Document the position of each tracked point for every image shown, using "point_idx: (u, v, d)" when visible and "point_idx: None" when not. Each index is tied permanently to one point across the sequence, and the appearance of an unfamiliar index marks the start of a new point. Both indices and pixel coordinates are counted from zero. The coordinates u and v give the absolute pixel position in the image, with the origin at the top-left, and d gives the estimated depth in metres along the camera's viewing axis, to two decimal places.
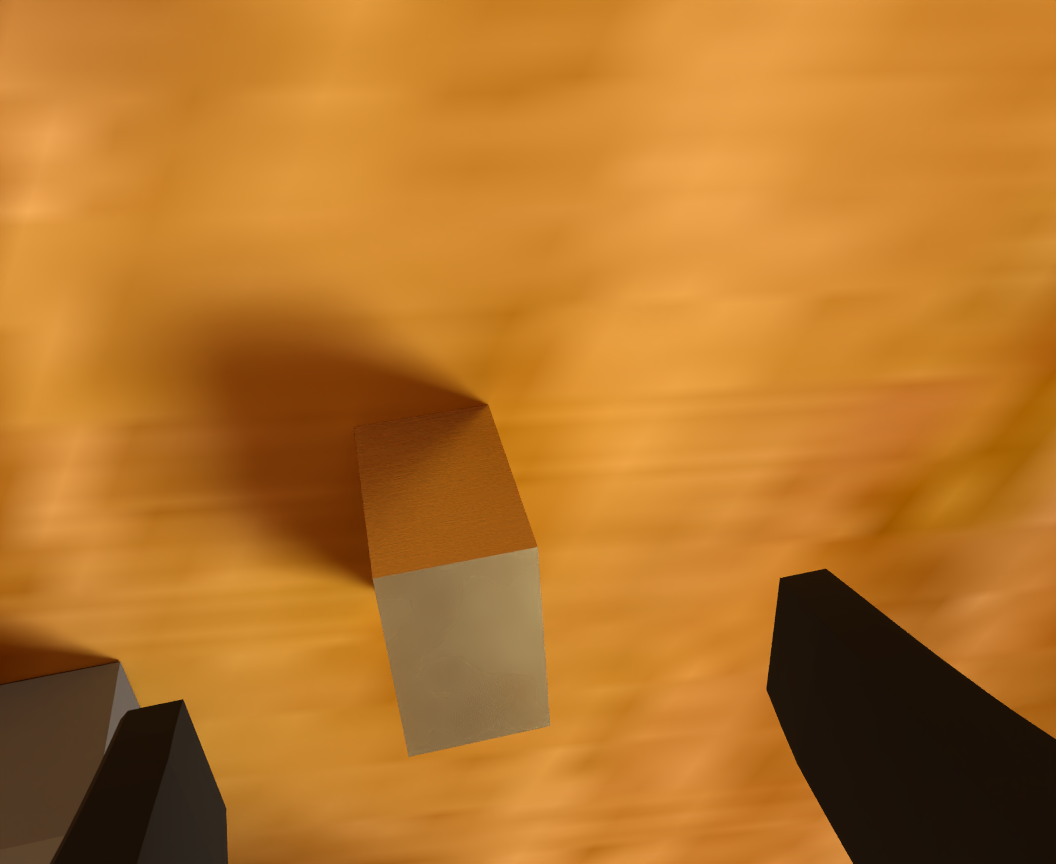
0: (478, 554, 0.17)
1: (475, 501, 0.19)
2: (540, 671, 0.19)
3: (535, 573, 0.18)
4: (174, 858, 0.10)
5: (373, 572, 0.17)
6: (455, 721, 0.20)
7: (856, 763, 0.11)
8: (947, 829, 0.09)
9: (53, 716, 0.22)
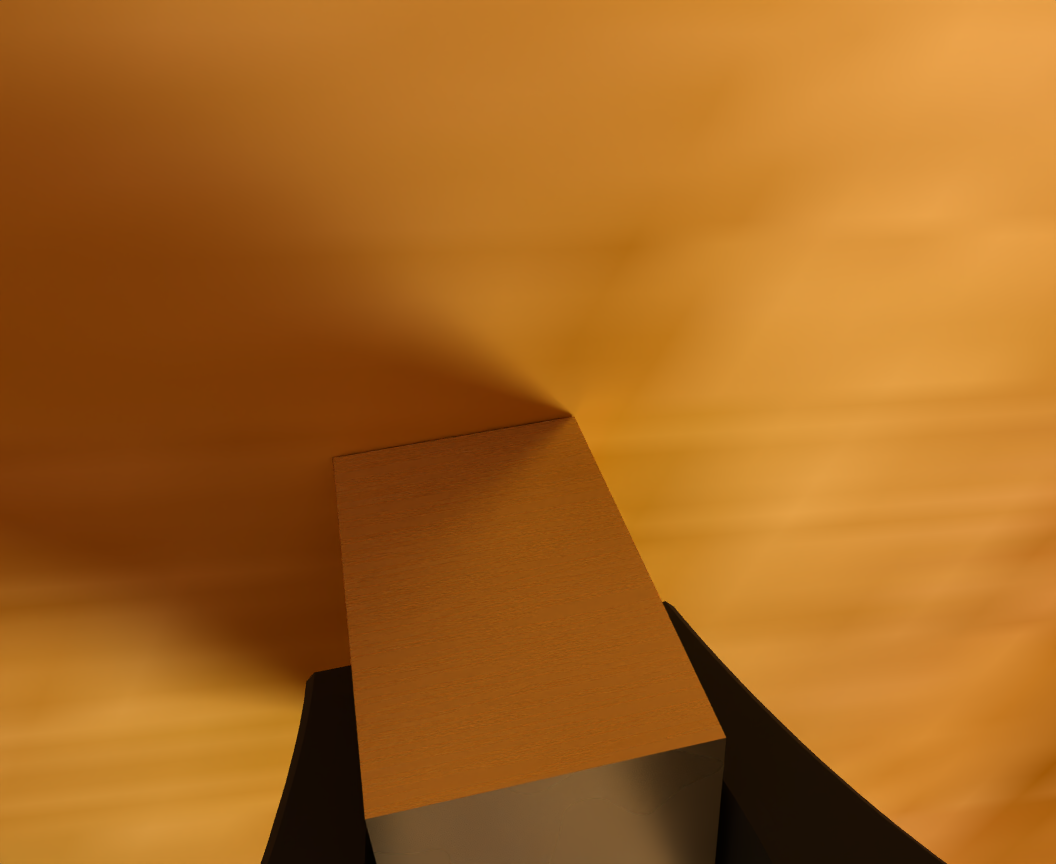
0: (598, 755, 0.08)
1: (576, 620, 0.09)
2: None
3: (713, 785, 0.08)
4: None
5: (368, 803, 0.08)
6: None
7: None
8: None
9: None
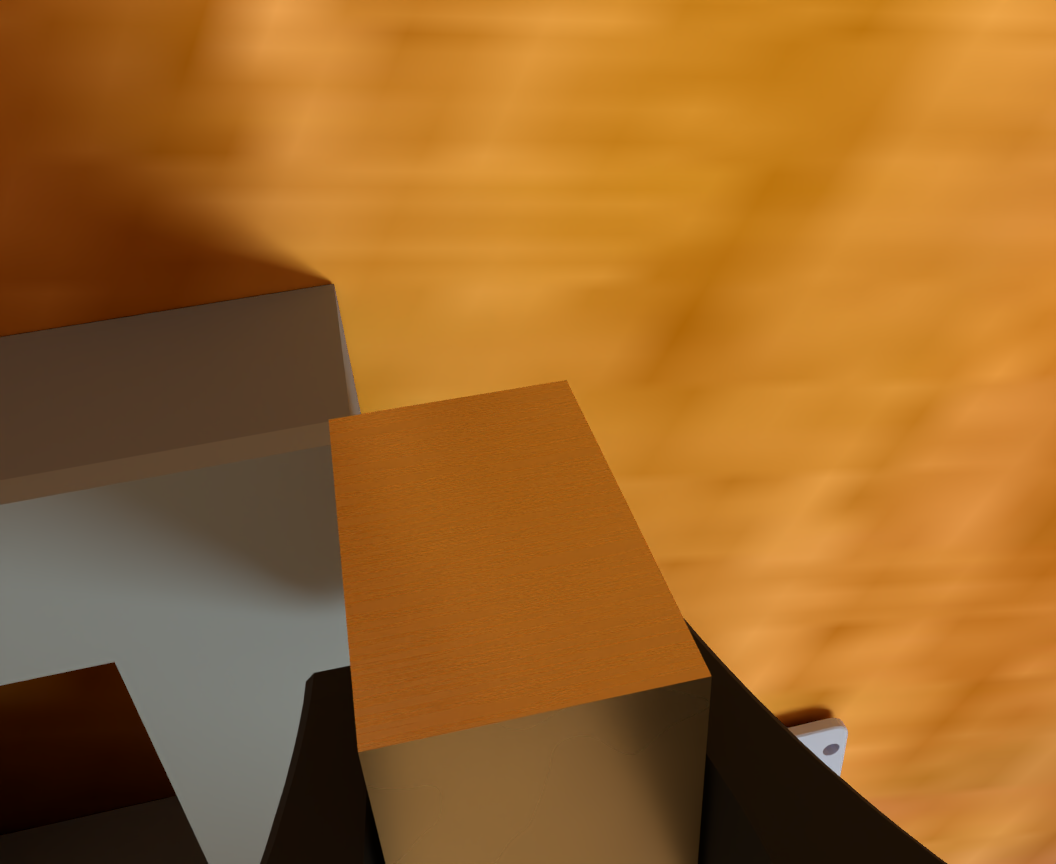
0: (586, 692, 0.08)
1: (565, 568, 0.09)
2: None
3: (699, 725, 0.09)
4: None
5: (361, 738, 0.08)
6: None
7: None
8: None
9: (261, 328, 0.17)
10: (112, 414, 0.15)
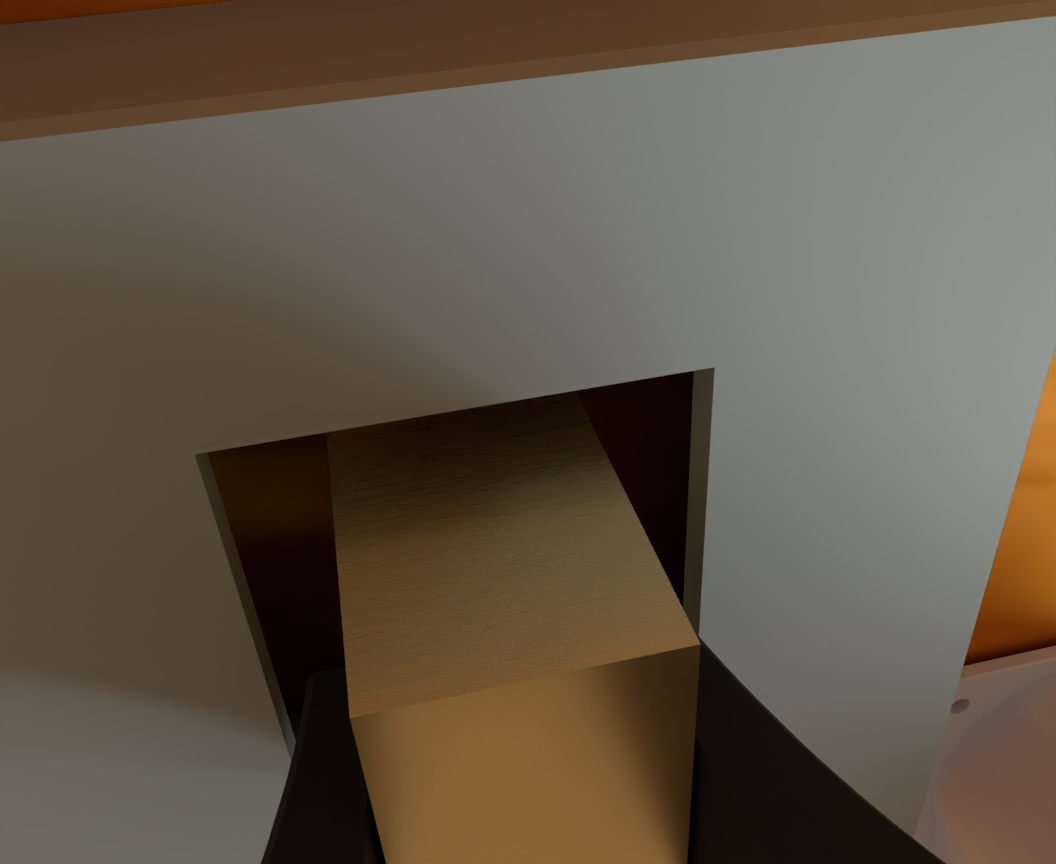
0: (576, 660, 0.08)
1: (556, 542, 0.09)
2: None
3: (689, 694, 0.09)
4: None
5: (353, 705, 0.08)
6: None
7: None
8: None
9: None
10: (729, 5, 0.10)
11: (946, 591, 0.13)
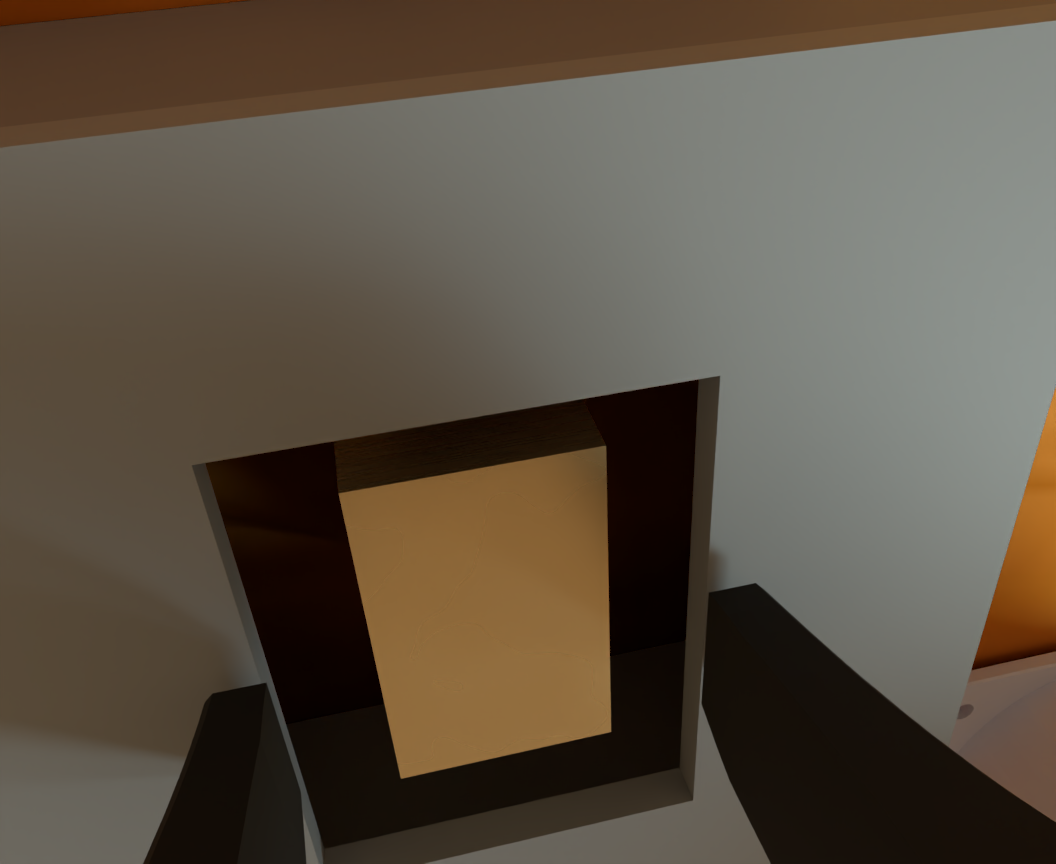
0: (510, 457, 0.11)
1: None
2: (601, 649, 0.13)
3: (600, 491, 0.11)
4: (267, 837, 0.10)
5: (341, 485, 0.11)
6: (470, 727, 0.13)
7: (779, 781, 0.10)
8: (858, 851, 0.09)
9: None
10: (735, 8, 0.10)
11: (953, 600, 0.13)
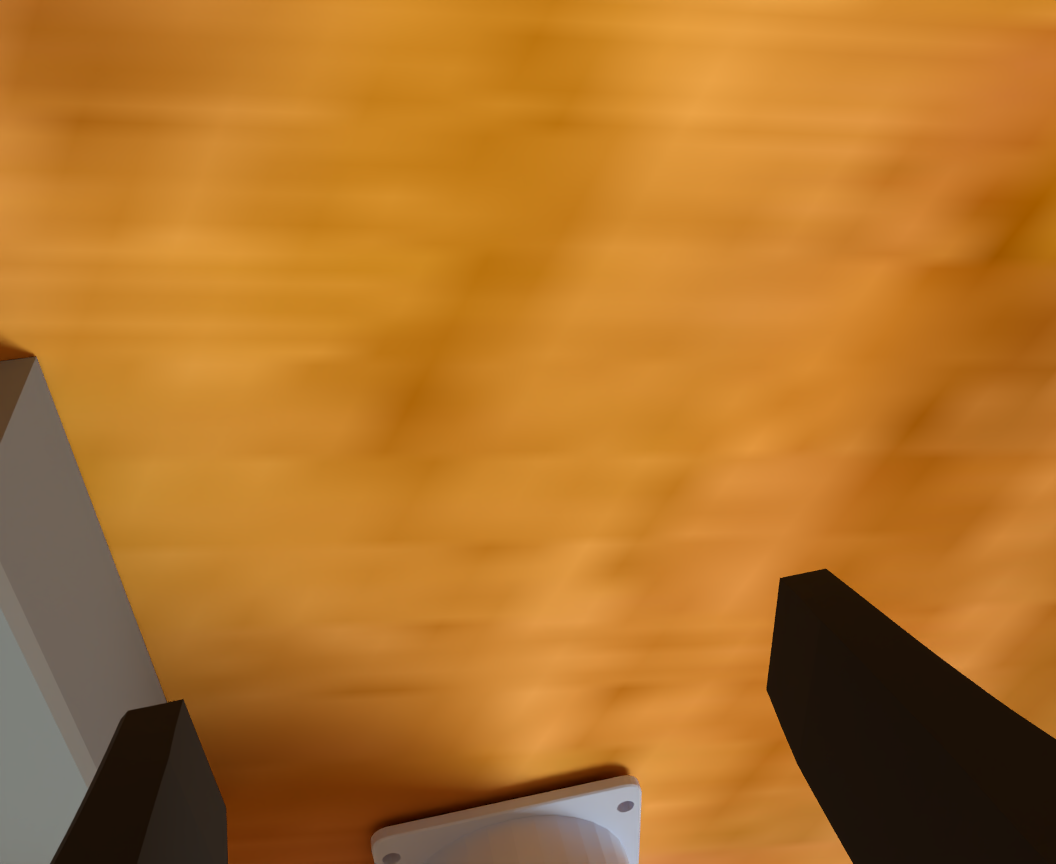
0: None
1: None
2: None
3: None
4: (174, 858, 0.10)
5: None
6: None
7: (856, 762, 0.11)
8: (947, 829, 0.09)
9: None
10: None
11: None
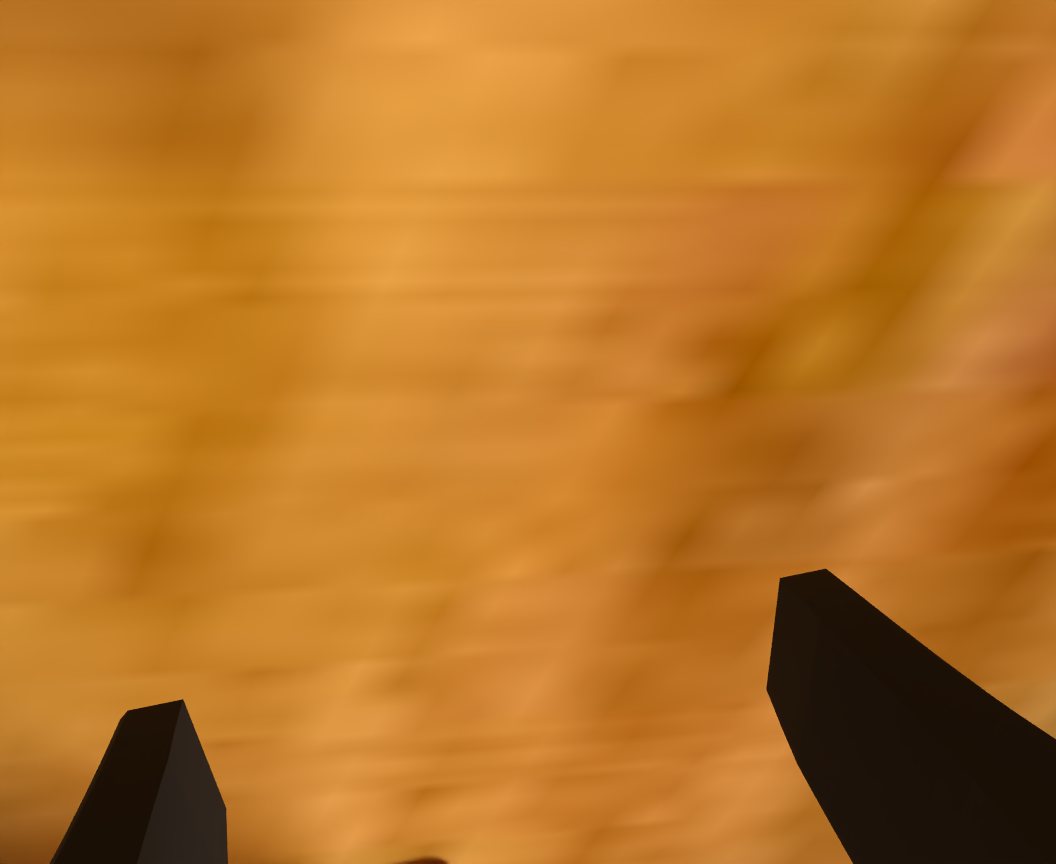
0: None
1: None
2: None
3: None
4: (174, 858, 0.10)
5: None
6: None
7: (856, 763, 0.11)
8: (947, 829, 0.09)
9: None
10: None
11: None
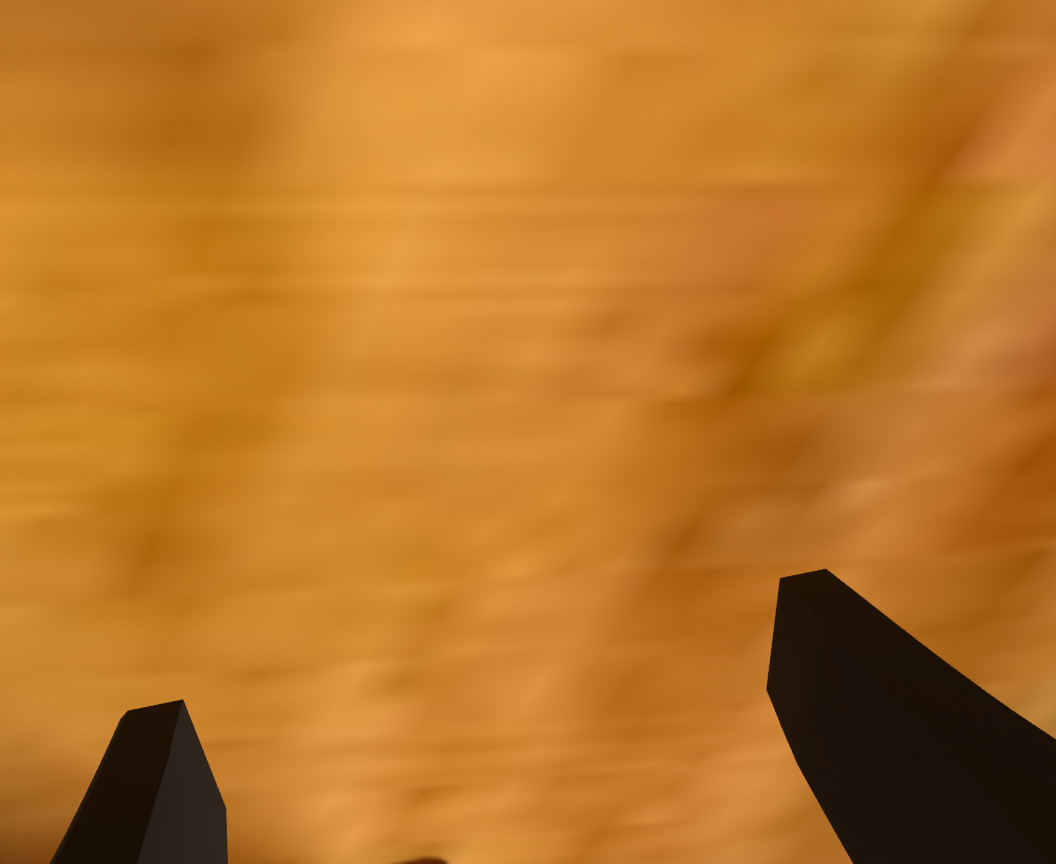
0: None
1: None
2: None
3: None
4: (174, 858, 0.10)
5: None
6: None
7: (856, 763, 0.11)
8: (947, 829, 0.09)
9: None
10: None
11: None
